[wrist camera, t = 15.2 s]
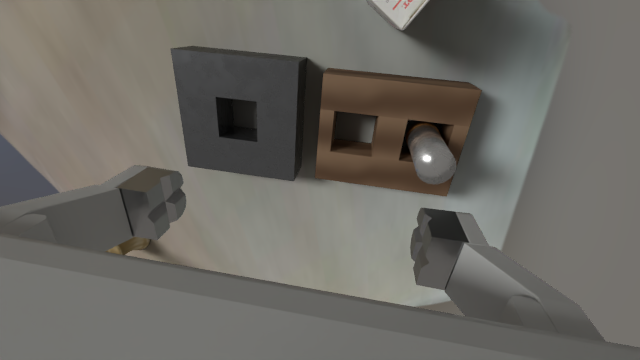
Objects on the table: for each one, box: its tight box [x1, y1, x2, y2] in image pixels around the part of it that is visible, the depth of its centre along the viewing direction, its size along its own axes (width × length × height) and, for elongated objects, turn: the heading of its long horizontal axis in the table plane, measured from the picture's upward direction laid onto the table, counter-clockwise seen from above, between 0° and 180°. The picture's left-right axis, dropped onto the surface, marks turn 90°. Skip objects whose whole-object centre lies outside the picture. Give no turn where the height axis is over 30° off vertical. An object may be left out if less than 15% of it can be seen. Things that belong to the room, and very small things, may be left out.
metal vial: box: [405, 120, 456, 184], centre depth 36 cm, size 4×4×12 cm
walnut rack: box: [315, 68, 482, 196], centre depth 40 cm, size 14×18×5 cm
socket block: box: [171, 46, 307, 181], centre depth 41 cm, size 16×16×5 cm
